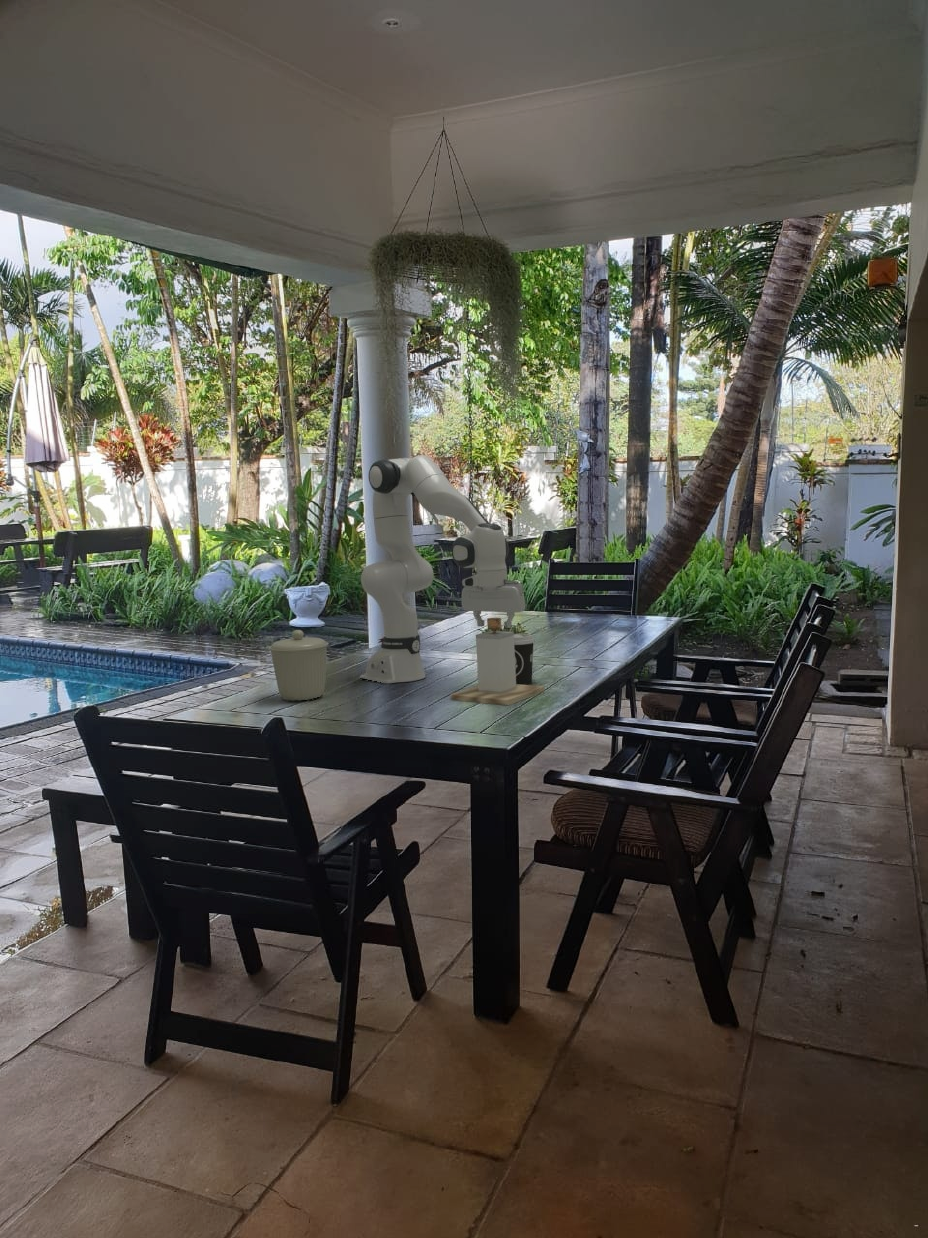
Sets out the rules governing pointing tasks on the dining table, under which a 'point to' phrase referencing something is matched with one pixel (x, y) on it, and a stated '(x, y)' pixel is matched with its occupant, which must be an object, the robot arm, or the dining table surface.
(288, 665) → the canister
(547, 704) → the dining table surface
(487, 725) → the dining table surface
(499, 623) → the plunger
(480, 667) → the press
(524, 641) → the coffee cup
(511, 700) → the board
